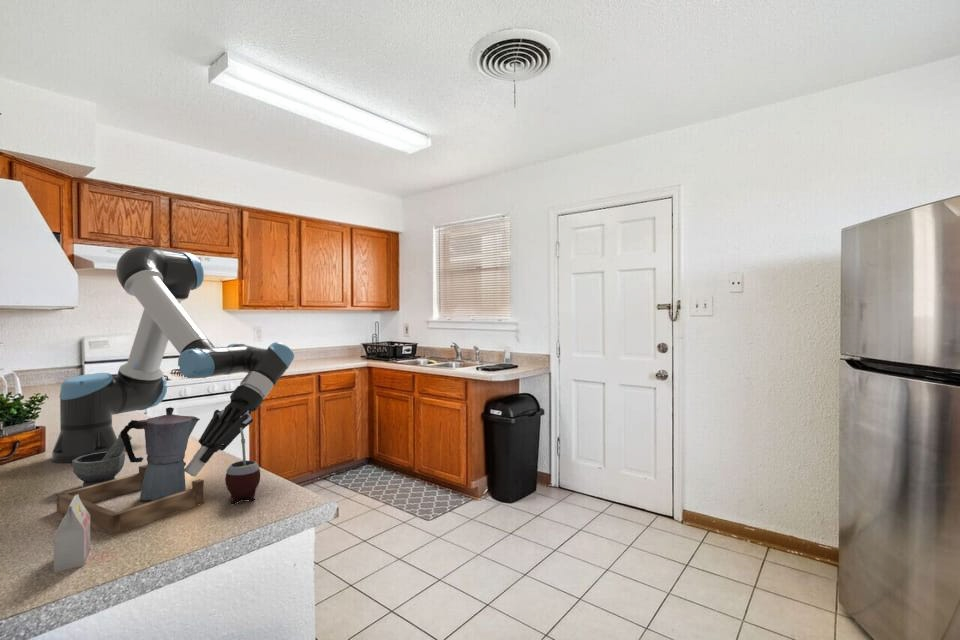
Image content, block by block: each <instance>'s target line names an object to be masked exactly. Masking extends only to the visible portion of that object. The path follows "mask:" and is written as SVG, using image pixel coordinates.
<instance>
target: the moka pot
mask: <svg viewBox="0 0 960 640" xmlns="http://www.w3.org/2000/svg"><path fill="white" fill-rule="evenodd" d="M174 410H175V408H174V407H166V408H165V412H166V414H164V415H158V416H155V417H149V418H147V419H141V420H134V419H131V420H130V421H129V422H128V423H127V425H125V426H124V428H123V429H121V431H120V432H119V434H120V435H121V438H122V441H123V443H124V446H125V448H124V449H125V452H126V453H127V457H128V459H129V462H130V463H142V462H143V460H144V457H141V456H140V457H136V456H135V453H134V451H133V445H132V443H131V440H129V435H130V434H129V432H130V430H131V429H136V430H144V438H145V439H144V440H145V452H146V453H145V454H146V455H147V457H146V461H147V464H146V465H147V467H146V472H145V476H144V481H143V485H142V489H140V494H139V500H143V501H147V502H151V501H155V500H158V499H161V498H164V497H167V496H170V495H173V494H177V493H180V492H183V491H186V490H187V489H186V488H187V487H186V473H185V468H186V466H187V463H186V461H184V459H185V458H186V457H185V456H186V450H187V447H188V442H189V438H190V436H191V434H192V432H193V430H194V428H195V427H196V425H197V423H198V421H200V420H201V419H200V418H199V417H196V416H193V415H179V414H173V413H174Z"/></svg>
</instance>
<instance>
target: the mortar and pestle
mask: <svg viewBox="0 0 960 640" xmlns="http://www.w3.org/2000/svg"><path fill="white" fill-rule="evenodd" d="M128 435H129V440H130V441H132V436H131V435H130V434H128ZM117 436H118V437H117V440H116V442H115V443H114V444H113V446H112V447H111V448H110V450H109V451H108V452H100V453H92V454H88V455H84V456H80V457H78V458H76V459H74V460H72V462H71V463H72V464H71V465H72V466H71V467H72V470H73V474H74V475H75V476H76V478H77V479H79V480H81V482H82V487H81V488H84V487H87V486H91V485H95V484H99V483H103V482H106V481H110V480H114V479H116V476H117V475H118V474H119V473H120V472H121V471H122V468H124V465H125V460H126V457H125V456H126V455H125V454H126V453H124V450H125V449H126V448H125V446H124V443H123V441H122V438H121V435H120V433H119V434H118V435H117Z"/></svg>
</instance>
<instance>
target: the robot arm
mask: <svg viewBox="0 0 960 640" xmlns="http://www.w3.org/2000/svg"><path fill="white" fill-rule="evenodd" d="M115 271H116V277H117V279H118V282H119V284H120V286H121V287H122V289H124V291H125V292H126V294H128V295H130V296H132V297H135V298H136V299H137V300H138V302H139V303H140V305H141V306H142V308H143V310H142V314H141V318H140V321H139V324H138V327H137V330H136V334H135V337H134V339H133V344H132V347H131V349H130V353H129V356H128V360H127V362H126V363H123V364H122V365H120V366H119V368H118V371H117V375H116V376H113V375H112V373H109V372H97V373H89V374H82V375H77V376H73V377H70V378H68V379H66V380H64V381H62V383H61V385H60V391H59V403H60V405H59V407H60V408H59V409H60V412H59V413H60V416H59V417H60V419H59V420H60V421H59V422H60V424H59V425H60V427H59V428H60V431H59V434H58V437H57V439H56V442H55V443H54V444H55V445H54V447H53V449H52V452H51V461H52V460H53V462H54V461H55V463H61V464H62V463H65V464H66V463H72V460H74V459H76V458H78V457H80V456H84V455H88V454H92V453H100V452H108V451H109V450H110V448H111V447H112V446H113V444H114V443H115V442H116V440H117V439H118V437H117V435H116V433H115V430H114V428H113V415H119V414H125V413H129V412H134V411H135V412H136V411H143V410H144V411H145V410H147V409H152V408H155V407H156V406H158V405H159V404H160V403H161V402H162V401H163V400H164V398H165V397H166V394H167V390H168V386H167V385H166V384H167V379H166V377H165V376H164V372H163V371H162V370H161V368H160V367H161V364H162V361H163V358H164V354H165V351H166V348H167V346H168V342H170V343H171V345H172V346H173V347H174V348H175V349H176V351H177V352H178V353H179V357H178V359H177V360H178V361H177V366H178V367H179V372H180V374H182V376H184V377H185V378H186V379H206V378H210V377H215V376H223V375H232V374H240V373H247V374H246V375H245V376H244V378H242V380H241V382H239V385H238V386H237V387H236V388H235V389H234V390H233V391H232V393H231V394H230V396H229V398H230V402H229V404H227V405H226V406H225V407H224V409H221V410H219V409H216V410H214V412H213V415H212V418H211V419H210V421H209V423H208V424H207V426H206V427H205V430H204V431H203V432H202V435H201V436H200V438H199V439H198V443H199V444H200V448H199V449H198V450H197V452H195V454H194V455H193V457H192V459H191V460H190V461H189V463H187V464H186V466H185V467H184V469H185V472H186V473H187V474H188V475H190V476H192V477H197V476H198V474H199V473H200V472H201V470H202V469H203V468H204V466H205V465H206V463H209V460H210V459H211V458H212V457H213V456H214V454H215V453H217V452H218V451H224V450H225V449H226V448H227V447H229V445H231V443H232V442H233V441H234V440H235V439H236V438H237V437H238V436H239V434H241V432H240V428H242V429H243V430H244V429H245V428H247V427H248V426H249V425H251V424H252V423H253V422H254V419H253V418H252V417H251V414H252V413H254V412H256V411H257V410H258V409H259V407H261V405H262V404H263V402H264V399H266V397H267V396H268V395H269V393H270V392H271V391H272V389H274V387H275V386H276V384H277V383H278V382H279V380H280V379H281V377H282V376H283V375H284V374H285V372H286V371H287V370H288V369H289V367H290V365H291V364H292V362H293V361H294V359H295V354H294V352H293V349H291V348H290V347H289V346H287V344H284V343H282V342H279V341H275V342H272V343H271V344H270V345H269V346H268V347H267V348H260V347H257V346H251V345H248V344H244V343H230V344H228V345H227V346H221V347H220V346H219V347H217V346H216V347H215V345H214V344H213V343H212V341H210V340H209V338H208V337H207V336H206V335H205V333H204V332H203V330H202V329H201V328H200V327H199V326H198V324H197V323H196V321H195V320H194V319H193V318H192V317H191V316H190V314H189V313H188V312H187V311H186V309H185V308H184V307H183V305H181V302H182V301H185V300H187V299H188V298H189V295H190V294H191V293H190V292H191V291H193V290H197V289H198V288H200V287H201V286H202V284H203V281H204V277H205V271H204V267H203V265H202V262H201V260H200V259H199V258H198V257H197V256H196V255H194V254H192V253H190V252H187V251H182V250H177V249H176V250H175V249H167V248H160V247H159V248H158V247H153V246H143V245H141V246H135V247H132V248H130V249H128V250H126V251H125V252H124V253H123V254H122V255H121V256H120V257H119V259H118V261H117V263H116V270H115Z"/></svg>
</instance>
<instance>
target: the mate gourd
mask: <svg viewBox="0 0 960 640" xmlns="http://www.w3.org/2000/svg"><path fill="white" fill-rule="evenodd" d="M240 437H241V439H240V441H241V442H240V443H241V449H242V452H241V453H242V460H240V461H236V462H232V463H231V464H230V465H229V466H228V468H227V469H226V472H225V478H224V481H225V486H226V489H227V491H228V492H229V494H230V499H231V498H232V499H231V502H230V505H231V504H234V505H236V504H238V503H240V502H239V501H241V500H243V501H244V500H249V501H248V502H251V501H253V502H255V501H256V498H255V493H256V490H257V488H258V487H259V484H260V480H261V469H260V466H259V464H258V463H257V462H256V461H255V460H247V459H246V439H245V435H244V429H242V428H240ZM254 500H255V501H254ZM237 502H238V503H237ZM241 502H242V501H241ZM235 503H236V504H235Z"/></svg>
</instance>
